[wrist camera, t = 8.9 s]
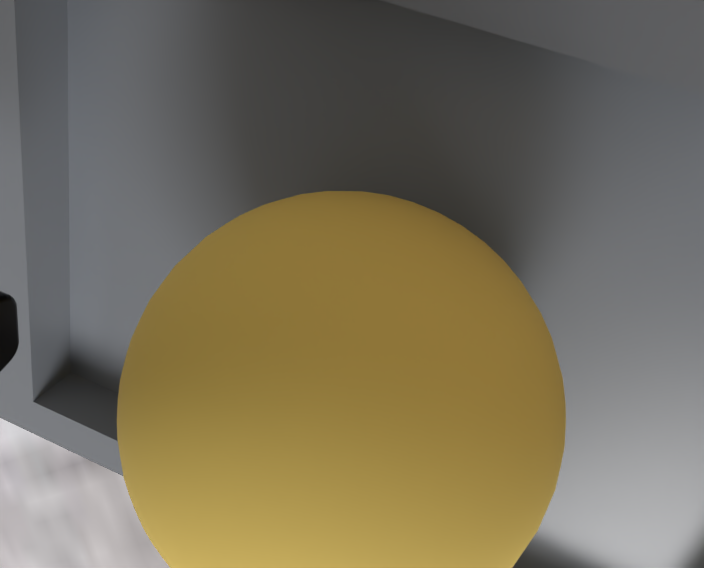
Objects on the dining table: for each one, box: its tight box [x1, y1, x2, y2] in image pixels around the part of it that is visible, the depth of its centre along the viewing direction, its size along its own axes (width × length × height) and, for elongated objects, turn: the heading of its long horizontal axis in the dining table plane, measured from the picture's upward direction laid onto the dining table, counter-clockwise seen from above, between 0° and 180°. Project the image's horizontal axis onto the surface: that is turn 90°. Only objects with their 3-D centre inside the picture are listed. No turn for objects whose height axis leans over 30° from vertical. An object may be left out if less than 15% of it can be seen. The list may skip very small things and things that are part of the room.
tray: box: [0, 0, 704, 568], centre depth 12 cm, size 16×12×2 cm
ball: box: [117, 191, 566, 568], centre depth 9 cm, size 6×6×6 cm
